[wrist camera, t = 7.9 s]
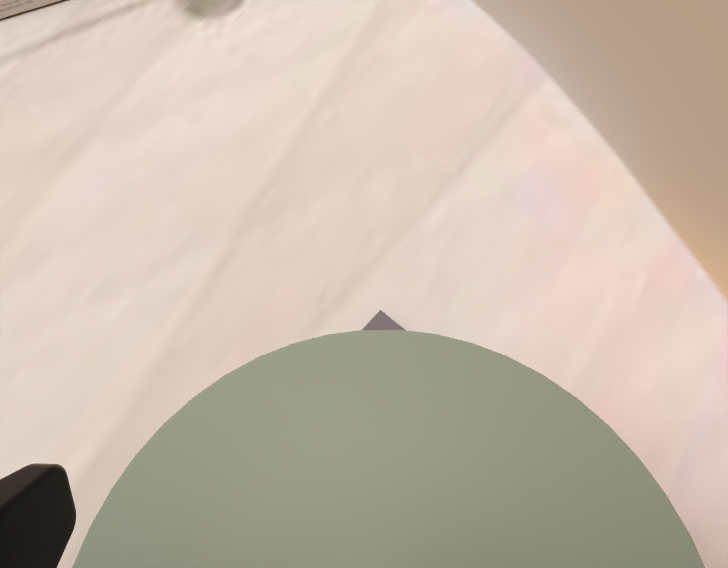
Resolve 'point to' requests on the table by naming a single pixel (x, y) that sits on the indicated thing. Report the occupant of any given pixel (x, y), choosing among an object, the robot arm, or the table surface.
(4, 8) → the light bulb box
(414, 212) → the table surface
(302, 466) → the sage cover
